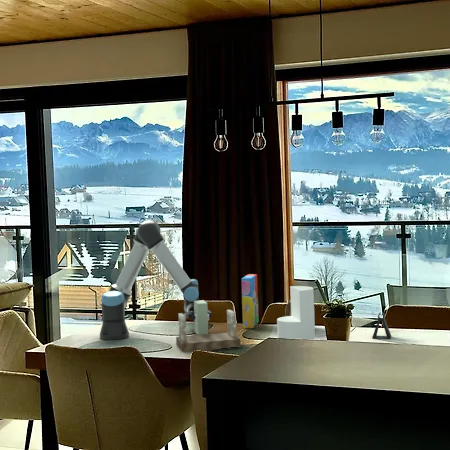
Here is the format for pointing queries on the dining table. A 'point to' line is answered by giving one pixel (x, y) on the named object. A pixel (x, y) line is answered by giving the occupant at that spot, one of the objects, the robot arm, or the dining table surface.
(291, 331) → the white l-shaped block
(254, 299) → the game box
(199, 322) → the book
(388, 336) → the phone stand
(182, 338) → the marble base with posts
